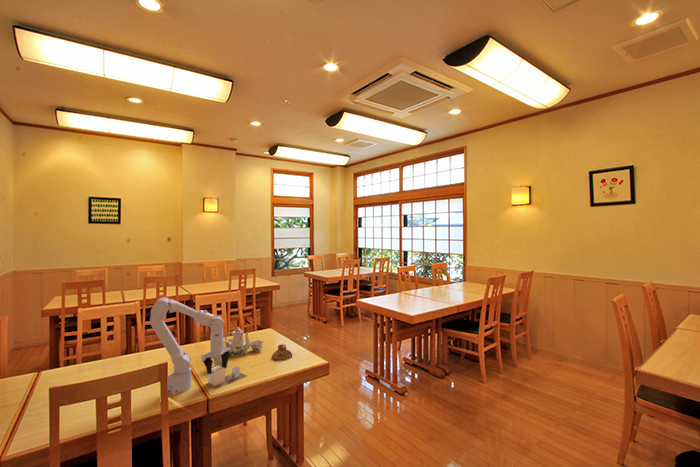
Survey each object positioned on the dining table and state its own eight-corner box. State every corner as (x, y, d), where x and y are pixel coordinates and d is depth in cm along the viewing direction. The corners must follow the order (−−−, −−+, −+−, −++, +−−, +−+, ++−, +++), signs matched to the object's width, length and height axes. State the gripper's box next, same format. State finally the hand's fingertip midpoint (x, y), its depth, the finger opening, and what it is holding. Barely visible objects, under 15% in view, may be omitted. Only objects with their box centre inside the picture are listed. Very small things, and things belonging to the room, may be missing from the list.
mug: (233, 367, 174) (233, 348, 174) (212, 375, 163) (212, 356, 164) (223, 364, 178) (223, 346, 179) (202, 372, 168) (202, 353, 168)
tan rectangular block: (214, 386, 150) (214, 371, 150) (208, 383, 153) (208, 369, 153) (225, 381, 154) (225, 368, 154) (218, 379, 157) (218, 365, 157)
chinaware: (267, 350, 205) (267, 324, 207) (256, 357, 188) (257, 328, 190) (225, 349, 208) (226, 323, 210) (211, 356, 191) (213, 327, 193)
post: (235, 379, 157) (235, 369, 157) (232, 378, 158) (232, 367, 158) (239, 377, 159) (239, 367, 159) (236, 376, 160) (236, 366, 160)
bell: (294, 359, 187) (294, 346, 187) (274, 362, 181) (274, 349, 182) (289, 352, 197) (289, 340, 197) (269, 355, 192) (269, 343, 192)
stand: (215, 391, 146) (215, 389, 146) (204, 386, 151) (204, 384, 151) (248, 377, 161) (248, 375, 161) (237, 373, 166) (237, 371, 166)
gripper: (207, 348, 146) (207, 378, 145) (235, 339, 157) (235, 367, 157) (198, 345, 150) (198, 374, 149) (226, 337, 161) (226, 364, 161)
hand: (216, 370), depth 153 cm, fingers open, 7 cm apart
